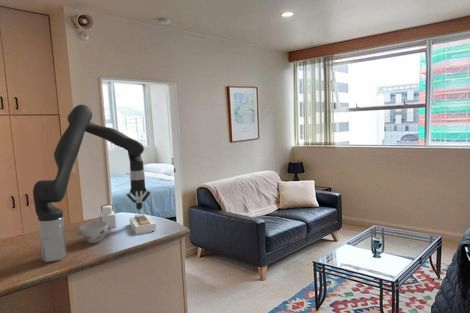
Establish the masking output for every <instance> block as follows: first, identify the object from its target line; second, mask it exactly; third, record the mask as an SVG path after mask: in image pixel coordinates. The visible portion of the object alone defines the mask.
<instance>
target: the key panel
mask: <svg viewBox="0 0 470 313" xmlns="http://www.w3.org/2000/svg"><path fill="white" fill-rule="evenodd" d="M144 216H145V217H146V218H147V219H148V220H149V222H150V224H147V225H140V224H139V222H138V221H137V219H135V216H130V217H129V225H130V227H131V228H132V230H133V232H134V233H135V235H141V234H148V233H152V231H154V232H157V229H156V228H157V227H156V226H157V225H156V223H155V221H154V220H153V219H152V218H151V216H149V214H144ZM147 232H148V233H147Z"/></svg>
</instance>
